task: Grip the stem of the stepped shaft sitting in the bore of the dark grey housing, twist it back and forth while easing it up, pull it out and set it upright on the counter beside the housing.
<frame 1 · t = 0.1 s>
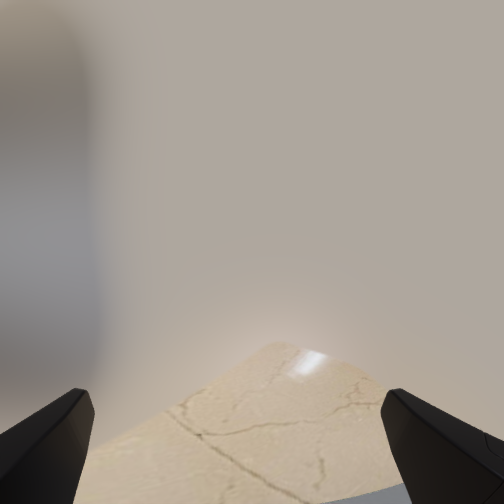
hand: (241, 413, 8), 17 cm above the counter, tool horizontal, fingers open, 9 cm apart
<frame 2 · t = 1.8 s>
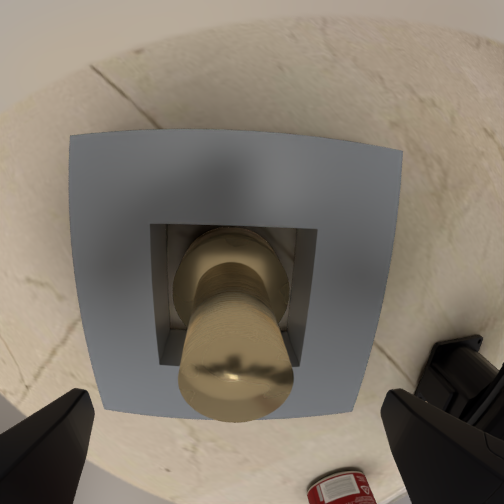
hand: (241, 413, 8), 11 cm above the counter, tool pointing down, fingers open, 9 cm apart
stepped shaft: (230, 275, 18), resting in housing
housing: (230, 276, 18), on the counter
soda can: (334, 481, 26), on the counter
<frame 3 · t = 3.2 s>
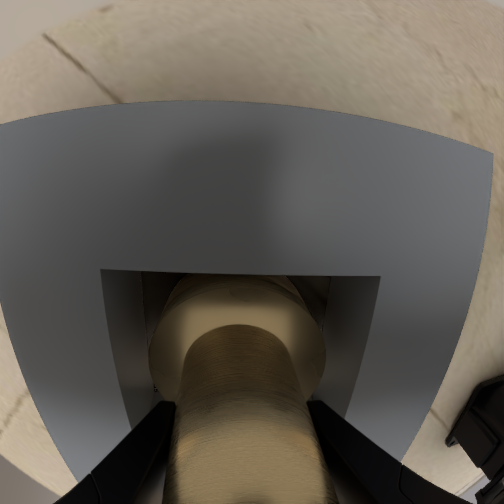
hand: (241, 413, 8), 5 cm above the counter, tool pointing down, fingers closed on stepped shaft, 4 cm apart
stepped shaft: (234, 327, 13), resting in housing, touching gripper
housing: (234, 328, 13), on the counter
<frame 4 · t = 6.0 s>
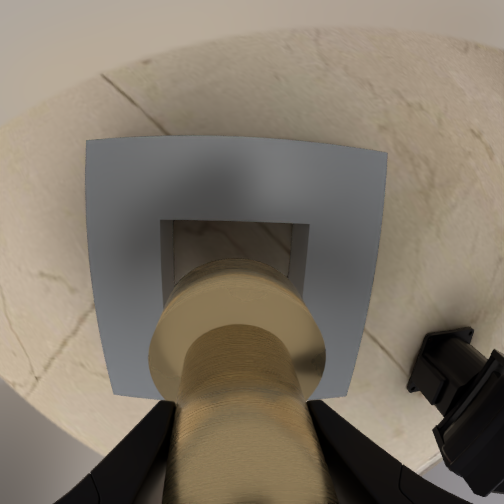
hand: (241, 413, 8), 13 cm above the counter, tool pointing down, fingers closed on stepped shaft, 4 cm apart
stepped shaft: (234, 327, 13), point 8 cm above the counter, touching gripper
housing: (231, 268, 20), on the counter
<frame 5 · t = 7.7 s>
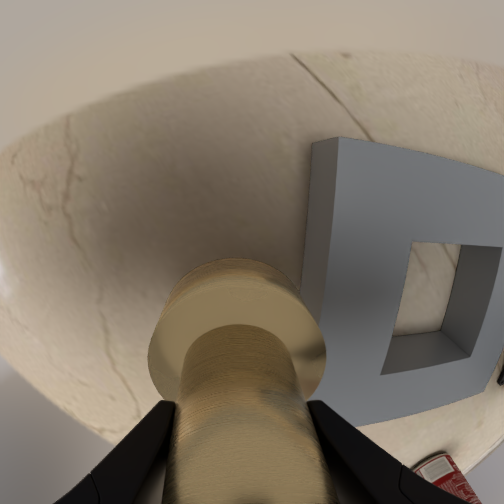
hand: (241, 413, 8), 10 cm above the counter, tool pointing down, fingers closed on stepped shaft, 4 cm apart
stepped shaft: (234, 327, 13), point 5 cm above the counter, touching gripper
housing: (414, 285, 18), on the counter
soda can: (424, 466, 26), on the counter
when the fingers open (6 cm above the counter, at t = 8.9 s): stepped shaft drops 1 cm, on the counter.
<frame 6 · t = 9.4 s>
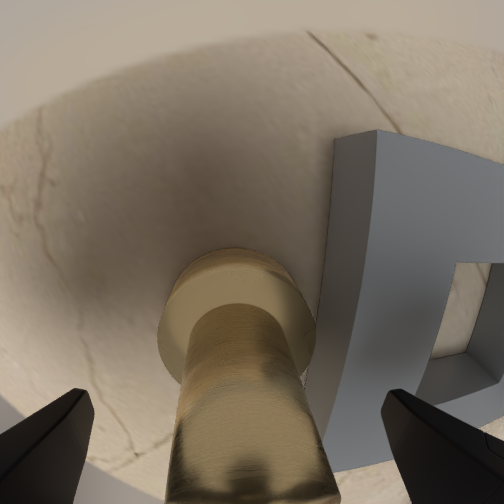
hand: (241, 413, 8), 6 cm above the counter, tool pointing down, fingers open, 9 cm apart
stepped shaft: (234, 311, 14), on the counter
housing: (443, 305, 15), on the counter
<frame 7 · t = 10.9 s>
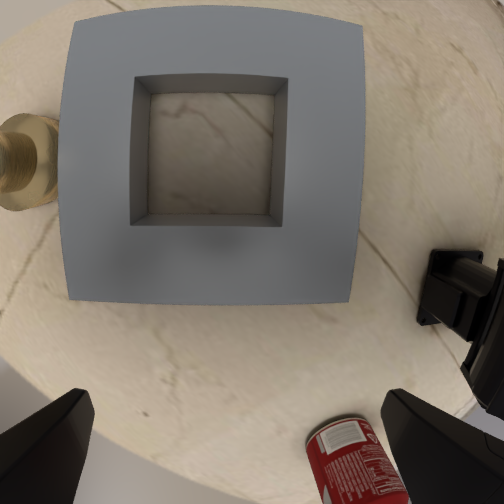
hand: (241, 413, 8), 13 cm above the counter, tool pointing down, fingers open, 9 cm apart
stepped shaft: (40, 161, 16), on the counter
housing: (209, 152, 18), on the counter
soda can: (336, 434, 26), on the counter
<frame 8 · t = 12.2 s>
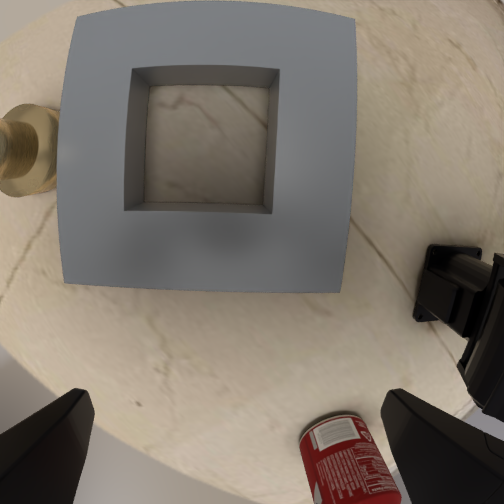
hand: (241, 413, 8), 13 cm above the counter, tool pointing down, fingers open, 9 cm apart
stepped shaft: (41, 150, 17), on the counter
housing: (204, 142, 18), on the counter
soda can: (330, 431, 26), on the counter
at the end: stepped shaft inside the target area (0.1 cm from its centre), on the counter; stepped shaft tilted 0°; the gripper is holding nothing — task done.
